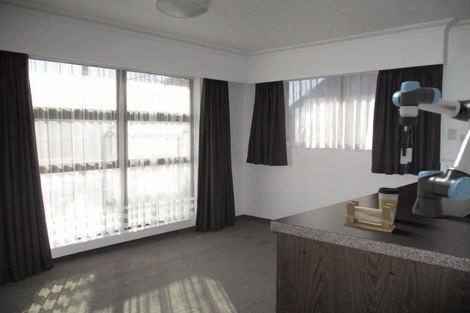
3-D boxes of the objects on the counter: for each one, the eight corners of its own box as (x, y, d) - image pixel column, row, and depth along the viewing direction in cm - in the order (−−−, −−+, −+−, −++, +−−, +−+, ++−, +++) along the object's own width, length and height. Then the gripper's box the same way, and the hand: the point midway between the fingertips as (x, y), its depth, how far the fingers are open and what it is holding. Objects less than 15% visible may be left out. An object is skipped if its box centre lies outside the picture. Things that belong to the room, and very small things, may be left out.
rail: (347, 215, 171) (348, 204, 171) (393, 222, 160) (394, 210, 160) (345, 217, 168) (345, 205, 167) (391, 224, 157) (392, 211, 156)
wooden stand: (349, 221, 173) (350, 199, 172) (394, 228, 162) (395, 204, 162) (343, 225, 166) (344, 202, 165) (390, 232, 155) (392, 208, 154)
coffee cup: (389, 222, 173) (391, 190, 172) (372, 217, 181) (373, 187, 180) (402, 220, 178) (404, 189, 177) (384, 215, 186) (386, 186, 185)
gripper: (403, 117, 178) (401, 160, 180) (395, 115, 157) (392, 164, 159) (420, 117, 174) (418, 161, 176) (414, 114, 153) (411, 165, 155)
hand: (406, 162), depth 167 cm, fingers open, 13 cm apart
